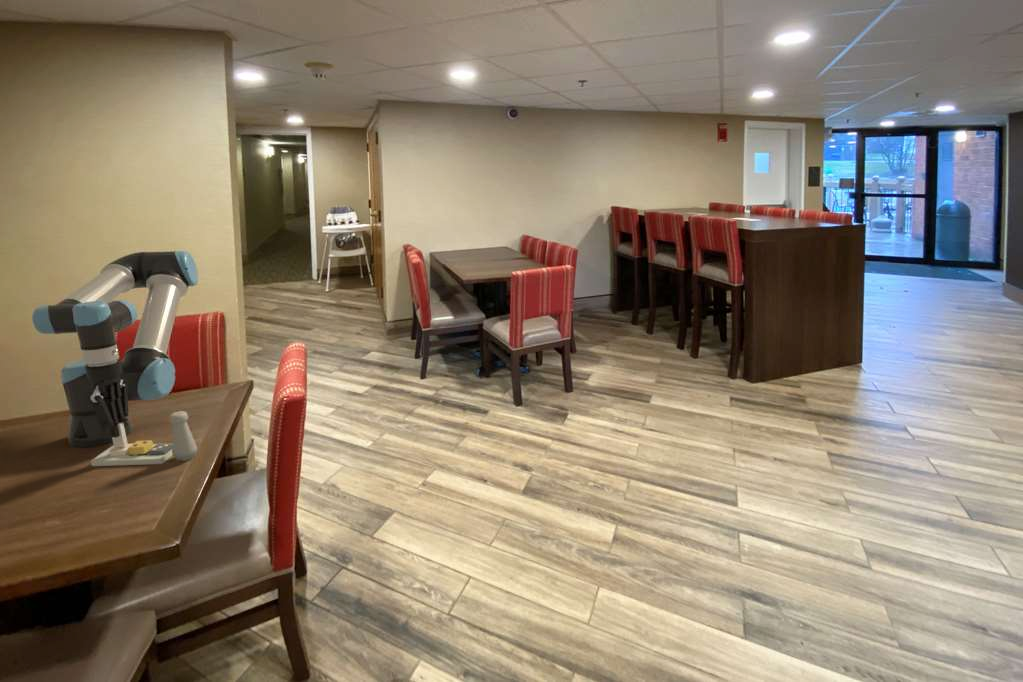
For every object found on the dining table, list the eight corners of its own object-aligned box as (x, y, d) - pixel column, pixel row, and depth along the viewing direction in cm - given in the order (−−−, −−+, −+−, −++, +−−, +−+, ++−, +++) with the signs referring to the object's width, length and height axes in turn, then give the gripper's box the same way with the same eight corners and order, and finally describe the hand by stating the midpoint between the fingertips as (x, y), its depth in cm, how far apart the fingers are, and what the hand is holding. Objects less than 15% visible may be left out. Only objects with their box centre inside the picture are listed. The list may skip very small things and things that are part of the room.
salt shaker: (187, 464, 147) (178, 418, 144) (168, 462, 148) (159, 416, 145) (203, 453, 153) (195, 409, 149) (184, 452, 154) (176, 408, 150)
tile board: (91, 466, 147) (90, 461, 147) (113, 450, 156) (112, 445, 155) (162, 463, 148) (161, 458, 147) (180, 448, 156) (179, 443, 156)
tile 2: (129, 454, 149) (128, 447, 149) (138, 447, 153) (137, 440, 152) (145, 453, 149) (143, 446, 149) (153, 447, 153) (152, 439, 153)
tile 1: (110, 457, 149) (109, 450, 149) (120, 450, 153) (118, 443, 152) (126, 457, 149) (124, 449, 149) (135, 450, 153) (133, 443, 153)
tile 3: (149, 457, 150) (148, 450, 149) (158, 451, 154) (156, 443, 153) (165, 457, 150) (163, 450, 149) (173, 450, 154) (171, 443, 153)
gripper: (100, 369, 138) (120, 457, 144) (133, 354, 150) (149, 435, 157) (69, 370, 138) (90, 458, 144) (104, 355, 150) (122, 436, 157)
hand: (121, 446), depth 150 cm, fingers closed
